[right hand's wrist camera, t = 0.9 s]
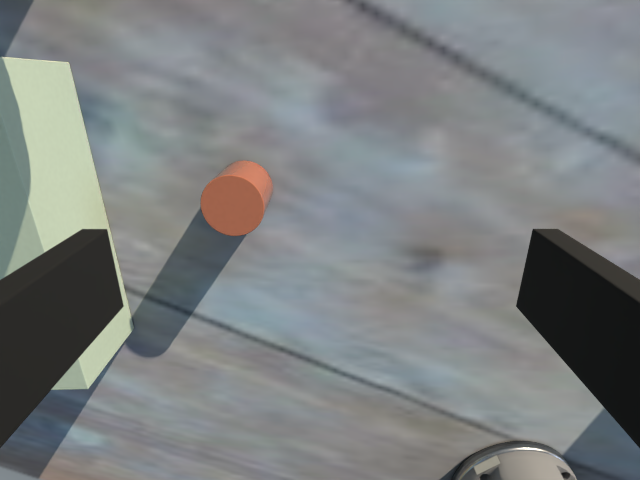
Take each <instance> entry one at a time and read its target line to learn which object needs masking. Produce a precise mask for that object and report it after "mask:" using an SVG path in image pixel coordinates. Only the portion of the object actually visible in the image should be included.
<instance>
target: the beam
mask: <svg viewBox="0 0 640 480" xmlns="http://www.w3.org/2000/svg"><path fill="white" fill-rule="evenodd" d="M82 229H107V231H108V235H109V240H110V245H111V249H112V254H113V259H114V263H115V268H116V272H117V277H118V282H119V286H120V291H121V296H122V300H123V305H124V307H123V308H122V309H121V310H120V311H119V312H118V314H117V315H116V316H115V317H114V318H113V319H112V320H111V322H110V323H109V324H108V325H107V326H106V327H105V328H104V330H103V331H102V332H101V333H100V334H99V335H98V336H97V338H96V339H95V340H94V341H93V342H92V343H91V344H90V346H89V347H88V348H87V349H86V350H85V351H84V353H83V354H82V355H81V356H80V357H79V358H78V359H77V361H76V362H75V363H74V364H73V365H72V366H71V367H70V369H69V370H68V371H67V372H66V373H65V374H64V375H63V377H62V378H61V379H60V380H59V381H58V382H57V383H56V385H55V386H54V387H53V388H52V389H51V390H68V389H89V387H90V386H91V385H92V383H93V382H94V381H95V379H96V378H97V377H98V375H99V374H100V373H101V371H102V370H103V369H104V367H105V366H106V365H107V364H108V362H109V361H110V360H111V358H112V357H113V356H114V354H115V353H116V352H117V350H118V349H119V348H120V346H121V345H122V344H123V342H124V341H125V340H126V338H127V337H128V336H129V334H130V333H131V332H132V331H133V329H134V326H133V322H132V318H131V314H130V310H129V306H128V301H127V297H126V293H125V289H124V285H123V281H122V277H121V273H120V269H119V265H118V261H117V257H116V252H115V248H114V244H113V240H112V236H111V232H110V228H109V224H108V220H107V216H106V212H105V208H104V203H103V199H102V195H101V191H100V187H99V183H98V179H97V175H96V171H95V167H94V163H93V159H92V154H91V150H90V146H89V142H88V138H87V134H86V130H85V126H84V122H83V118H82V114H81V110H80V105H79V101H78V97H77V93H76V89H75V85H74V81H73V77H72V73H71V69H70V65H69V63H68V62H57V61H45V60H32V59H20V58H8V57H0V280H1V279H3V278H4V277H6V276H7V275H9V274H11V273H12V272H14V271H15V270H17V269H19V268H20V267H22V266H23V265H25V264H27V263H28V262H30V261H32V260H33V259H35V258H36V257H38V256H40V255H41V254H43V253H44V252H46V251H48V250H49V249H51V248H53V247H54V246H56V245H57V244H59V243H61V242H62V241H64V240H65V239H67V238H69V237H70V236H72V235H73V234H75V233H77V232H78V231H80V230H82Z"/></svg>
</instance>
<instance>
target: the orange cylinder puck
mask: <svg viewBox="0 0 640 480" xmlns="http://www.w3.org/2000/svg"><path fill="white" fill-rule="evenodd" d="M272 193H273V185H272V181H271V178H270V176H269V175H268V173H267V172H266V171H265V170H264V168H262V167H261V166H260V165H258V164H256V163H254V162H250V161H237V162H234V163H232V164H230V165H229V166H227V167H226V168H225V169H224V170H223V171H222V172H221V173H219V174H218V175H217V176H216V177H215V178H214V179H213V180H212V181H211V182H209V184H208V185H207V186H206V187H205V189H204V191H203V193H202V196H201V210H202V213H203V216H204V218H205V220H206V221H207V222H208V224H209V225H210V226H211V227H212V228H214V229H215V230H216V231H218V232H220V233H222V234H225V235H229V236H241V235H245V234H248V233H250V232H251V231H253V230H254V229H255V228H256V227H257V226H258V225H259V224H260V222H261V221H262V218H263V216H264V214H265V211H266V209H267V207H268V204H269V202H270V199H271V197H272Z"/></svg>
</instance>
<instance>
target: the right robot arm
mask: <svg viewBox="0 0 640 480" xmlns="http://www.w3.org/2000/svg"><path fill="white" fill-rule="evenodd" d="M123 307H124V305H123V300H122V296H121V291H120V286H119V282H118V277H117V272H116V268H115V263H114V259H113V254H112V249H111V245H110V240H109V235H108V231H107V229H82V230H80V231H78V232H77V233H75V234H73V235H72V236H70V237H69V238H67V239H65V240H64V241H62V242H61V243H59V244H57V245H56V246H54V247H53V248H51V249H49V250H48V251H46V252H44V253H43V254H41V255H40V256H38V257H36V258H35V259H33V260H32V261H30V262H28V263H27V264H25V265H23V266H22V267H20V268H19V269H17V270H15V271H14V272H12V273H11V274H9V275H7V276H6V277H4V278H3V279H1V280H0V448H1V446H2V445H3V444H4V443H5V442H6V441H7V440H8V438H9V437H10V436H11V435H12V434H13V433H14V432H15V430H16V429H17V428H18V427H19V426H20V425H21V424H22V422H23V421H24V420H25V419H26V418H27V417H28V416H29V414H30V413H31V412H32V411H33V410H34V409H35V408H36V406H37V405H38V404H39V403H40V402H41V401H42V399H43V398H44V397H45V396H46V395H47V394H48V393H49V391H50V390H51V389H52V388H53V387H54V386H55V385H56V383H57V382H58V381H59V380H60V379H61V378H62V377H63V375H64V374H65V373H66V372H67V371H68V370H69V369H70V367H71V366H72V365H73V364H74V363H75V362H76V361H77V359H78V358H79V357H80V356H81V355H82V354H83V353H84V351H85V350H86V349H87V348H88V347H89V346H90V344H91V343H92V342H93V341H94V340H95V339H96V338H97V336H98V335H99V334H100V333H101V332H102V331H103V330H104V328H105V327H106V326H107V325H108V324H109V323H110V322H111V320H112V319H113V318H114V317H115V316H116V315H117V314H118V312H119V311H120V310H121V309H122V308H123ZM516 307H517V308H518V309H519V310H520V311H521V312H522V314H523V315H524V316H525V317H526V318H527V319H528V320H529V322H530V323H531V324H532V325H533V326H534V327H535V328H536V330H537V331H538V332H539V333H540V334H541V335H542V336H543V338H544V339H545V340H546V341H547V342H548V343H549V344H550V346H551V347H552V348H553V349H554V350H555V351H556V353H557V354H558V355H559V356H560V357H561V358H562V359H563V361H564V362H565V363H566V364H567V365H568V366H569V367H570V369H571V370H572V371H573V372H574V373H575V374H576V375H577V377H578V378H579V379H580V380H581V381H582V382H583V383H584V385H585V386H586V387H587V388H588V389H589V390H590V391H591V393H592V394H593V395H594V396H595V397H596V398H597V399H598V401H599V402H600V403H601V404H602V405H603V406H604V408H605V409H606V410H607V411H608V412H609V413H610V414H611V416H612V417H613V418H614V419H615V420H616V421H617V422H618V424H619V425H620V426H621V427H622V428H623V429H624V430H625V432H626V433H627V434H628V435H629V436H630V437H631V438H632V440H633V441H634V442H635V443H636V444H637V445H638V446H639V448H640V280H639V279H637V278H636V277H634V276H633V275H631V274H629V273H628V272H626V271H625V270H623V269H621V268H620V267H618V266H617V265H615V264H613V263H612V262H610V261H608V260H607V259H605V258H604V257H602V256H600V255H599V254H597V253H596V252H594V251H592V250H591V249H589V248H587V247H586V246H584V245H583V244H581V243H579V242H578V241H576V240H575V239H573V238H571V237H570V236H568V235H567V234H565V233H563V232H562V231H560V230H558V229H533V231H532V235H531V240H530V245H529V249H528V254H527V259H526V263H525V268H524V272H523V277H522V282H521V286H520V291H519V296H518V300H517V305H516ZM452 480H577V479H576V477H575V475H574V472H573V471H572V469H571V467H570V466H569V464H568V463H567V461H566V460H565V459H564V457H563V456H562V455H561V454H560V453H559V452H557V451H556V450H554V449H553V448H551V447H549V446H546V445H543V444H540V443H536V442H529V441H512V442H505V443H500V444H496V445H493V446H490V447H487V448H485V449H483V450H481V451H479V452H477V453H475V454H474V455H472V456H471V457H469V458H468V459H467V460H466V461H464V462H463V463H462V464H461V465H460V466H459V468H458V469H457V470H456V472H455V473H454V475H453V477H452Z"/></svg>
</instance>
